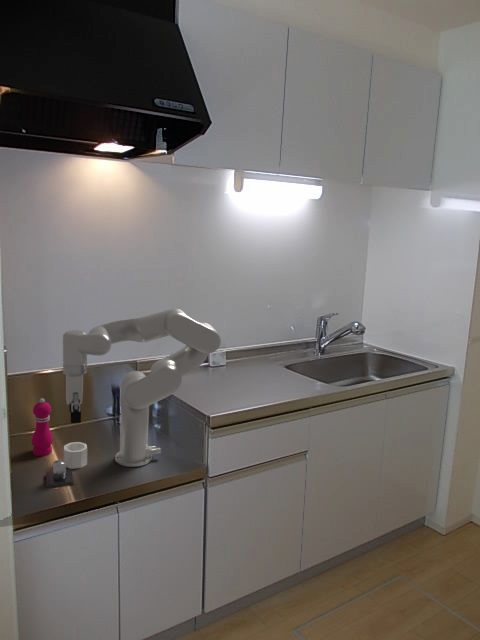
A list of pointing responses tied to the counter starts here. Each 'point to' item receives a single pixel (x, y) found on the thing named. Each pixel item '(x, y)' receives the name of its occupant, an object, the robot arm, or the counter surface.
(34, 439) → the pepper mill
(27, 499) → the counter surface
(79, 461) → the white hollow octagonal tube
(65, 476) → the duct stub
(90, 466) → the counter surface
